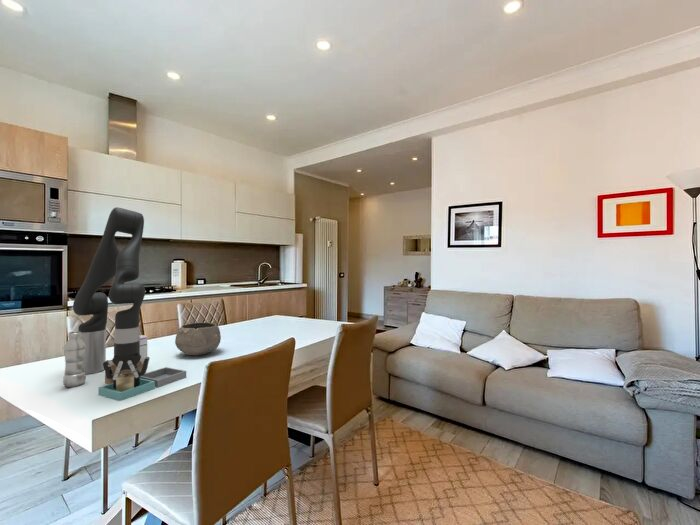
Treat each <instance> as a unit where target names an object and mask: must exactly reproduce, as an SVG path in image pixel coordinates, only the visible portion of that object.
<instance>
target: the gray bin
mask: <svg viewBox="0 0 700 525" xmlns="http://www.w3.org/2000/svg"><path fill="white" fill-rule="evenodd" d="M140 378H142V379H146V380H151V381H155V388H160V387H164V386H166V385H168V384H169V385H170V384H172V383H174V382H177V381H179V380H182V379H186V378H187V370H183V369H179V368H172V367H167V366H166V367H165V366H164V367H162V368H159V369H156V370H151V371H149V372H146V373H145V374H144V375H142V376H140Z"/></svg>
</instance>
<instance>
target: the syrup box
mask: <svg viewBox="0 0 700 525" xmlns="http://www.w3.org/2000/svg"><path fill="white" fill-rule="evenodd" d="M140 355H141V357H145V358H146V357H149V356H148V336H147V335H144V334H143V335H142V334H140ZM147 368H148V367H147Z"/></svg>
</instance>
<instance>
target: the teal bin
mask: <svg viewBox="0 0 700 525" xmlns="http://www.w3.org/2000/svg"><path fill="white" fill-rule="evenodd" d="M155 389H156V387H155V381H151V380H146V379H142V378H140V384H139V386H138V387H135V388H132V389H129V390H126V391H123V392H119V391H116V390H115V389H114V388H113V383H112V384H105V385H102V386H99V387H98V395H97V396H100V397H104V398H107V399H111V400H115V401H118V402H120V401H123V400H124V401H125V400H127V399H129V398H132V397H136V396H137V395H141V394H144V393H146V392H149V391H152V390H155Z"/></svg>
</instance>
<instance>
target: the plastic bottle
mask: <svg viewBox="0 0 700 525" xmlns="http://www.w3.org/2000/svg"><path fill="white" fill-rule="evenodd" d="M80 337H81V332H80V331H71V332H68V335H67V338H68V340H66V342H65V343H64V345H63V348H62V349H63V355H64V362H65V363H64V364H65V365H64V366H65V367H64V375H63V378H62V379H63V380H62V383H63V385H64V387H66V388H73V387H79V386H82V385H84V383H85V381H86V374H85V372H84V360H83V359H84V352H85V343H84V341H83V340H82V339H81V338H80Z"/></svg>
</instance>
